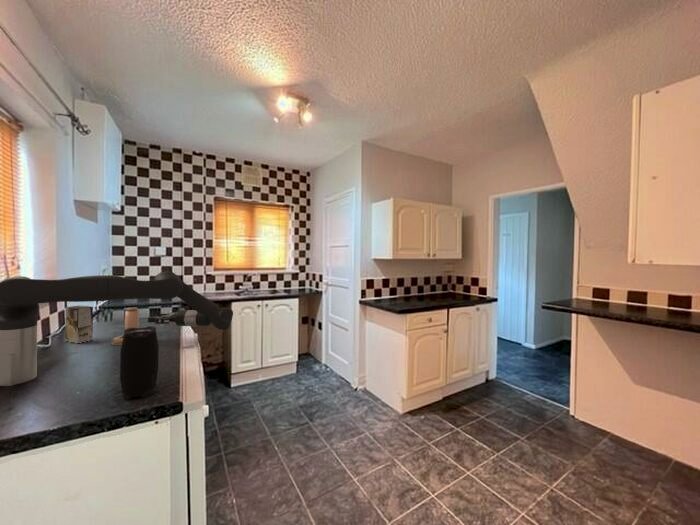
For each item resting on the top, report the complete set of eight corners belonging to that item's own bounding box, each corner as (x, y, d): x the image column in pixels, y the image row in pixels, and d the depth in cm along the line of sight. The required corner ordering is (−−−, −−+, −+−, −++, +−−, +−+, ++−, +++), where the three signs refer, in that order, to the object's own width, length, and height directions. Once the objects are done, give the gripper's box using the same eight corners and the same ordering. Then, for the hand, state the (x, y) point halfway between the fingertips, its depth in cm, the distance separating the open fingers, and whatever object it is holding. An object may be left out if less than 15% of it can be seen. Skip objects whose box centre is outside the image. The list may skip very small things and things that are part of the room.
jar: (133, 342, 142) (134, 309, 142) (122, 341, 142) (122, 309, 142) (140, 339, 147) (141, 307, 147) (129, 338, 147) (130, 307, 147)
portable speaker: (114, 396, 89) (115, 329, 89) (148, 385, 97) (149, 324, 97) (129, 404, 85) (130, 334, 85) (163, 392, 93) (164, 327, 93)
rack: (133, 345, 139) (134, 339, 139) (111, 344, 138) (111, 339, 138) (150, 338, 151) (150, 333, 151) (129, 337, 150) (129, 332, 150)
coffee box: (93, 340, 144) (94, 306, 144) (78, 344, 138) (78, 308, 138) (79, 338, 147) (80, 305, 147) (64, 342, 141) (64, 307, 141)
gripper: (195, 307, 153) (161, 307, 152) (181, 313, 139) (144, 312, 138) (195, 322, 153) (161, 322, 153) (181, 329, 139) (144, 329, 138)
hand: (153, 317), depth 145 cm, fingers open, 8 cm apart
